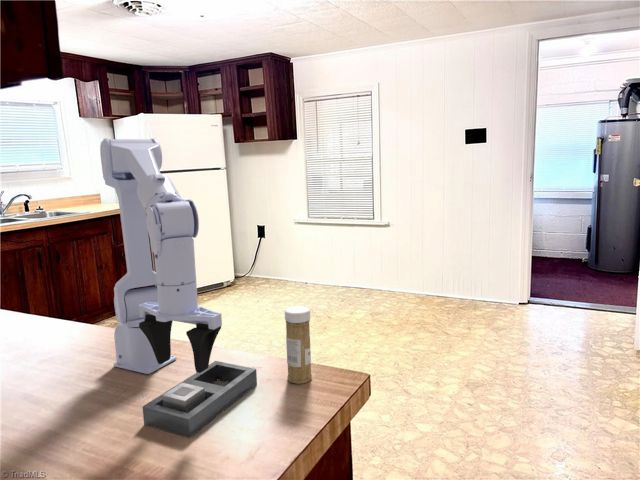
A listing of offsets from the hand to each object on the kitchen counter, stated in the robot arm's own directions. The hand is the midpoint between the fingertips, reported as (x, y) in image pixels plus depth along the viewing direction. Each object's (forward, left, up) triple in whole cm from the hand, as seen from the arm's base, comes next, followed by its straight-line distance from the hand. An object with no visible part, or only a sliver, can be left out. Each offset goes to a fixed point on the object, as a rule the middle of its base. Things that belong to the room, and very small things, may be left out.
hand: (182, 365), depth 74 cm
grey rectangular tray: (0, +4, -9) cm, 10 cm away
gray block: (0, 0, -9) cm, 9 cm away
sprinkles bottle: (+11, +18, -9) cm, 23 cm away
